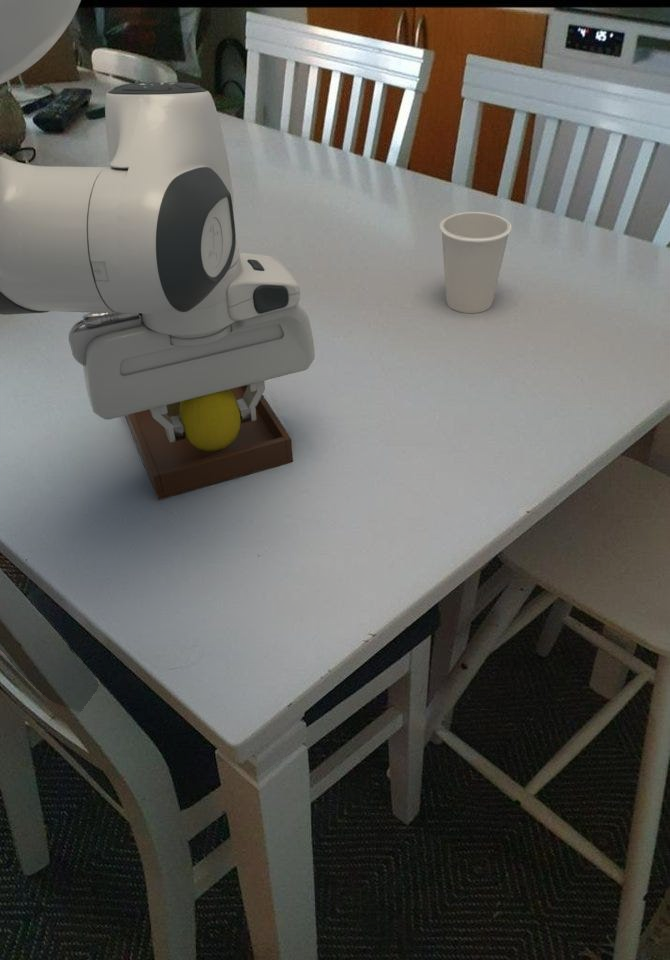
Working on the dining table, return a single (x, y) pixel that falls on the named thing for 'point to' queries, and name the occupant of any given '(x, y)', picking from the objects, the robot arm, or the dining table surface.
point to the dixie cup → (473, 258)
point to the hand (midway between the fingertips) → (212, 428)
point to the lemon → (211, 420)
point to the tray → (195, 468)
